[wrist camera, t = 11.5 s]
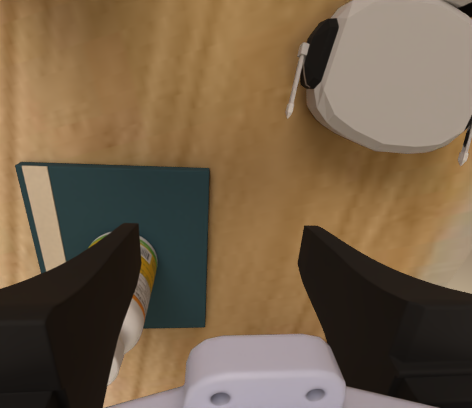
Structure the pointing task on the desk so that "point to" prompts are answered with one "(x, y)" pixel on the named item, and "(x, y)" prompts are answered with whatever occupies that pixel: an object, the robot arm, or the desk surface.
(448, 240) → the desk surface
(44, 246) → the teal notebook
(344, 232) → the desk surface
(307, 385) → the robot arm
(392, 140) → the robot toy
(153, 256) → the supplement bottle
